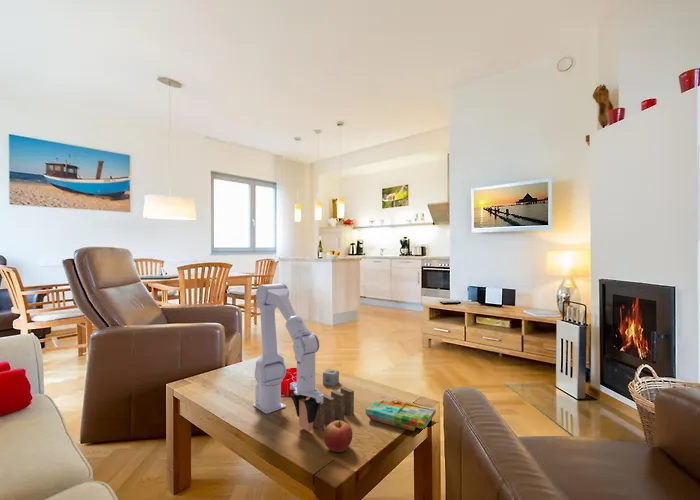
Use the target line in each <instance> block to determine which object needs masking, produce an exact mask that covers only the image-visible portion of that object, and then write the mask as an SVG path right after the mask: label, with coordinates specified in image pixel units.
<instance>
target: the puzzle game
mask: <svg viewBox="0 0 700 500" xmlns="http://www.w3.org/2000/svg"><path fill="white" fill-rule="evenodd" d="M436 412H437V409H435V408H432V407H429V406H424V405H420V404H416V403H411V402H408V401H403V400H400V399H396V398H395V399H394V398H391V397H387V396H383V395H381V396H380V397H378V398H377V399H376V400H374V402H373V403H371V405H369V406H368V407H367V408H366V409H365V414H366V416H367V417H368V418H369V420H372V421H374V422H379V423H383V424H386V425H390V426H393V427H398V428H400V427H401V429H404V428H405V430H408V431H412V432H414V431H415V430H416V429H417V428H418V429H422V430H423V429H426V428H427V426H428V425H429V423H430V421H431V420H432V419H433V418H434V416H435V415H436Z"/></svg>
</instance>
